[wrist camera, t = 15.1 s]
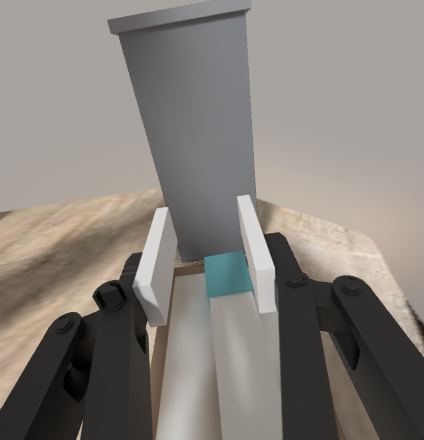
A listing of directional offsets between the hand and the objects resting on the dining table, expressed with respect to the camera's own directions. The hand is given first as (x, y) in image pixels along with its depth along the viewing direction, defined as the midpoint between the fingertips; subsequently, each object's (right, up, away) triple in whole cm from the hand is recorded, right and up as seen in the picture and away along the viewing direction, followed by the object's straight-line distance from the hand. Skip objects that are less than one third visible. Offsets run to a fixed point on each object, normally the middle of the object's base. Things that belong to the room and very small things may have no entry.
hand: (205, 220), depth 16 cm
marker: (+3, -13, +8) cm, 16 cm away
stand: (+1, -3, +28) cm, 28 cm away
